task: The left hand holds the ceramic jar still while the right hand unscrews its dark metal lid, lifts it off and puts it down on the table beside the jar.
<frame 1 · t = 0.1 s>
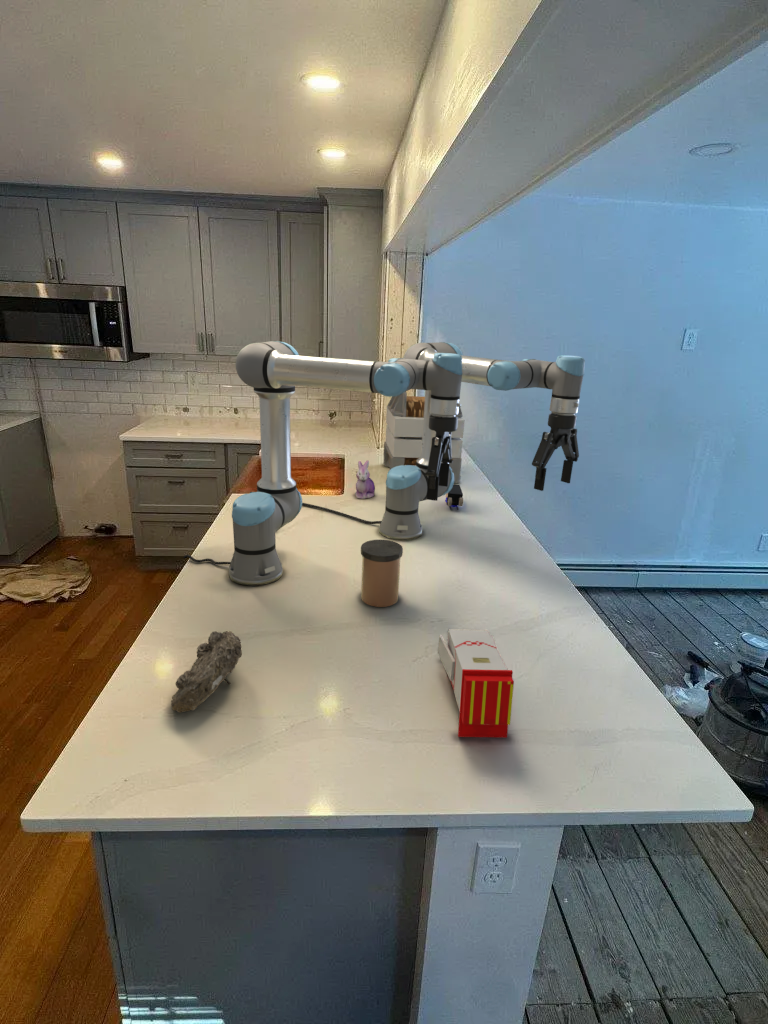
left hand: (437, 492, 155), 28 cm above the counter, tool pointing down, fingers open, 13 cm apart
right hand: (552, 485, 166), 28 cm above the counter, tool pointing down, fingers open, 13 cm apart
figurine: (364, 496, 238), on the counter
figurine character: (452, 506, 231), on the counter
lid: (381, 548, 150), point 15 cm above the counter, screwed on, not yet turned
fossil: (212, 683, 118), on the counter
jar: (379, 597, 155), on the counter
white crate: (419, 473, 275), on the counter
toy: (469, 691, 119), on the counter
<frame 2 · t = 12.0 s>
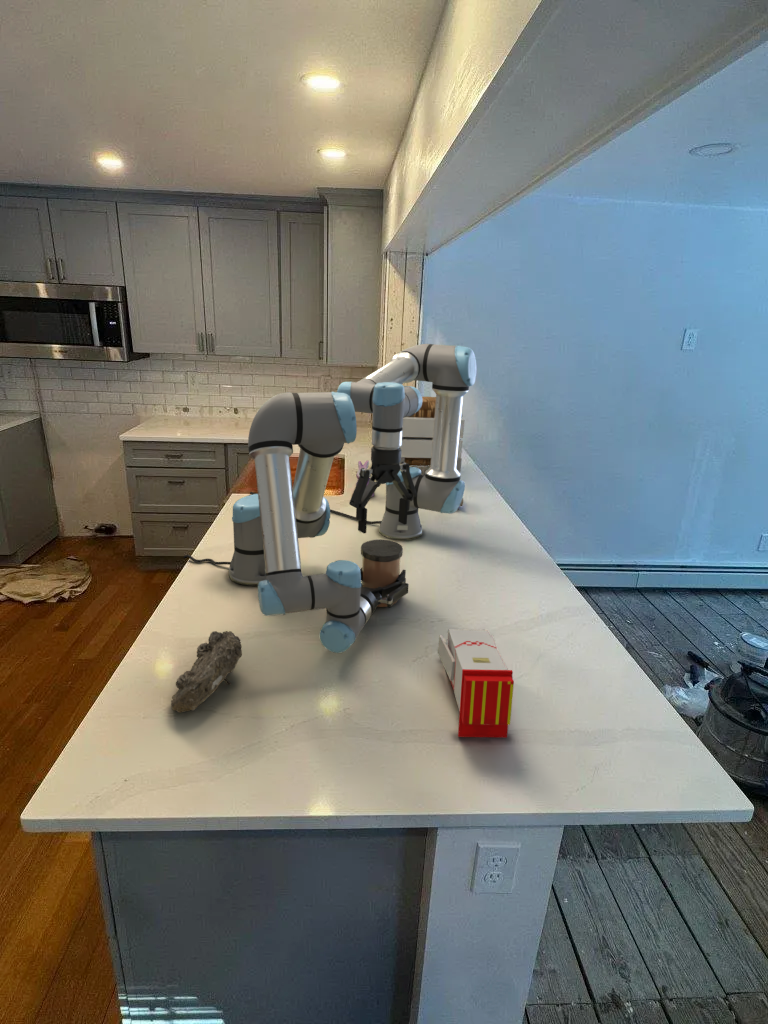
left hand: (385, 570, 157), 6 cm above the counter, tool horizontal, fingers closed on jar, 10 cm apart
right hand: (382, 527, 148), 21 cm above the counter, tool pointing down, fingers open, 12 cm apart
jar: (379, 597, 155), on the counter, touching left hand
everything else where it was.
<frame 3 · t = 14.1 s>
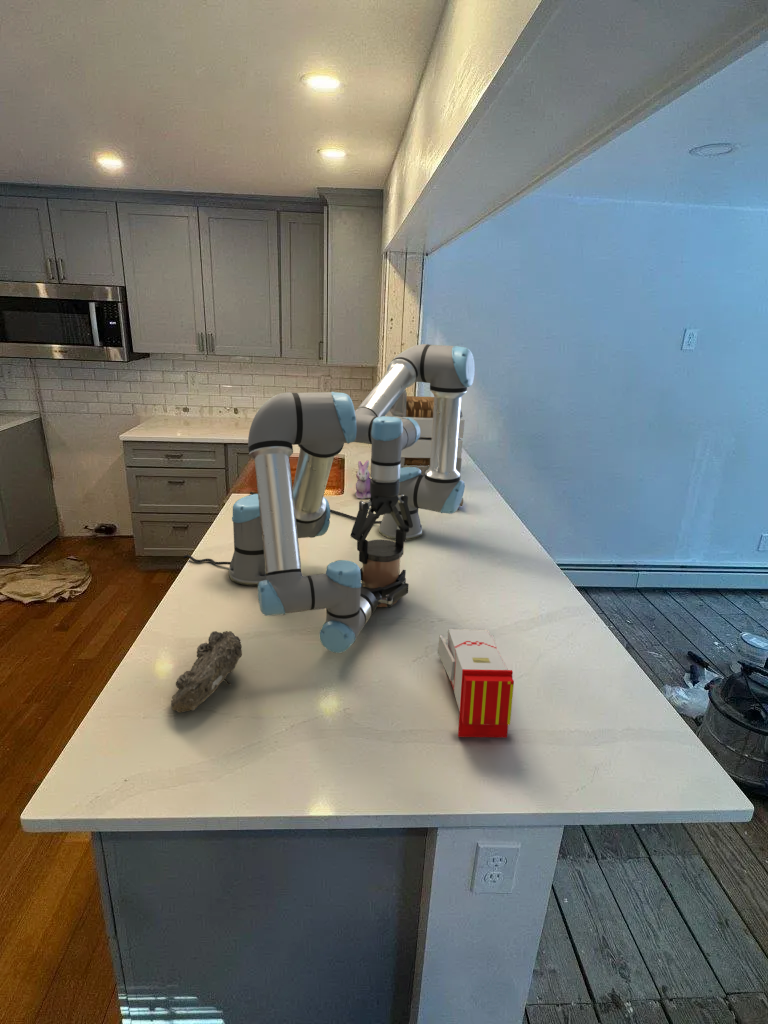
left hand: (385, 570, 157), 6 cm above the counter, tool horizontal, fingers closed on jar, 10 cm apart
right hand: (381, 557, 151), 12 cm above the counter, tool pointing down, fingers closed on lid, 11 cm apart
lid: (381, 548, 150), point 15 cm above the counter, screwed on, not yet turned, touching right hand
jar: (379, 597, 155), on the counter, touching left hand
everything else where it was.
when the right hand's fingers open (12 cm above the counter, at t = 15.8 s): lid stays where it is, point 15 cm above the counter.
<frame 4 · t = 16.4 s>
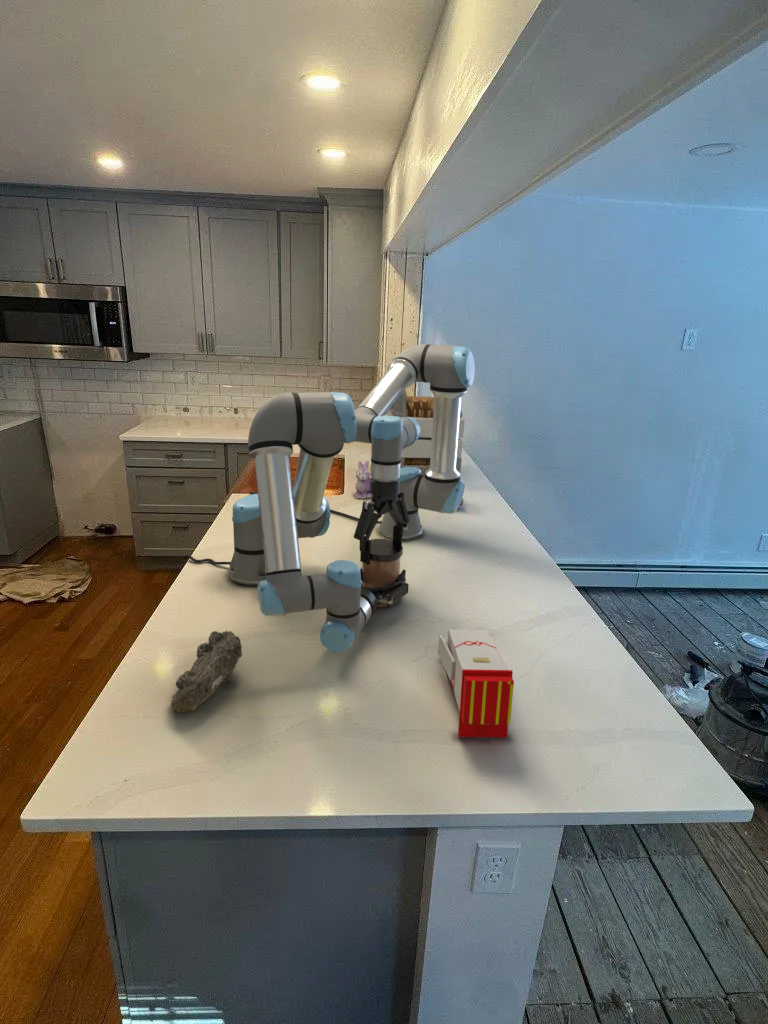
left hand: (385, 570, 157), 6 cm above the counter, tool horizontal, fingers closed on jar, 10 cm apart
right hand: (381, 555, 151), 13 cm above the counter, tool pointing down, fingers open, 12 cm apart
lid: (381, 547, 150), point 15 cm above the counter, turned 108° so far, risen 0.2 cm, still on its thread
jar: (379, 597, 155), on the counter, touching left hand
everything else where it was.
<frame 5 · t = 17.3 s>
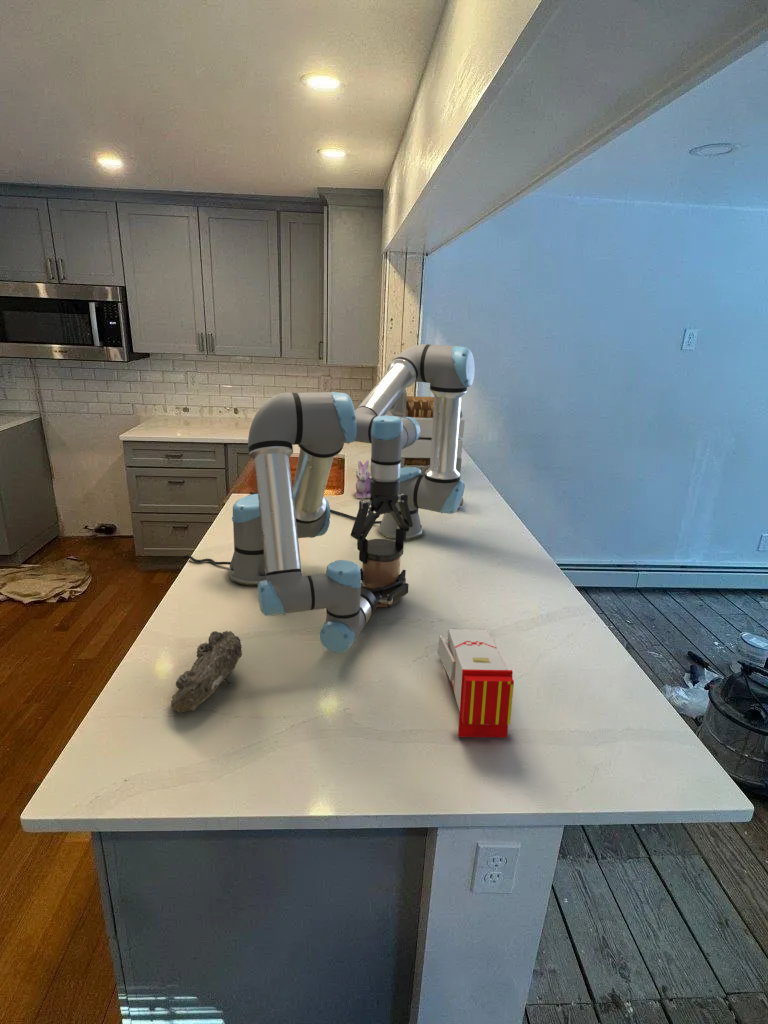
left hand: (385, 570, 157), 6 cm above the counter, tool horizontal, fingers closed on jar, 10 cm apart
right hand: (381, 557, 151), 12 cm above the counter, tool pointing down, fingers closed on lid, 11 cm apart
lid: (381, 547, 150), point 15 cm above the counter, turned 108° so far, risen 0.2 cm, still on its thread, touching right hand
jar: (379, 597, 155), on the counter, touching left hand
everything else where it was.
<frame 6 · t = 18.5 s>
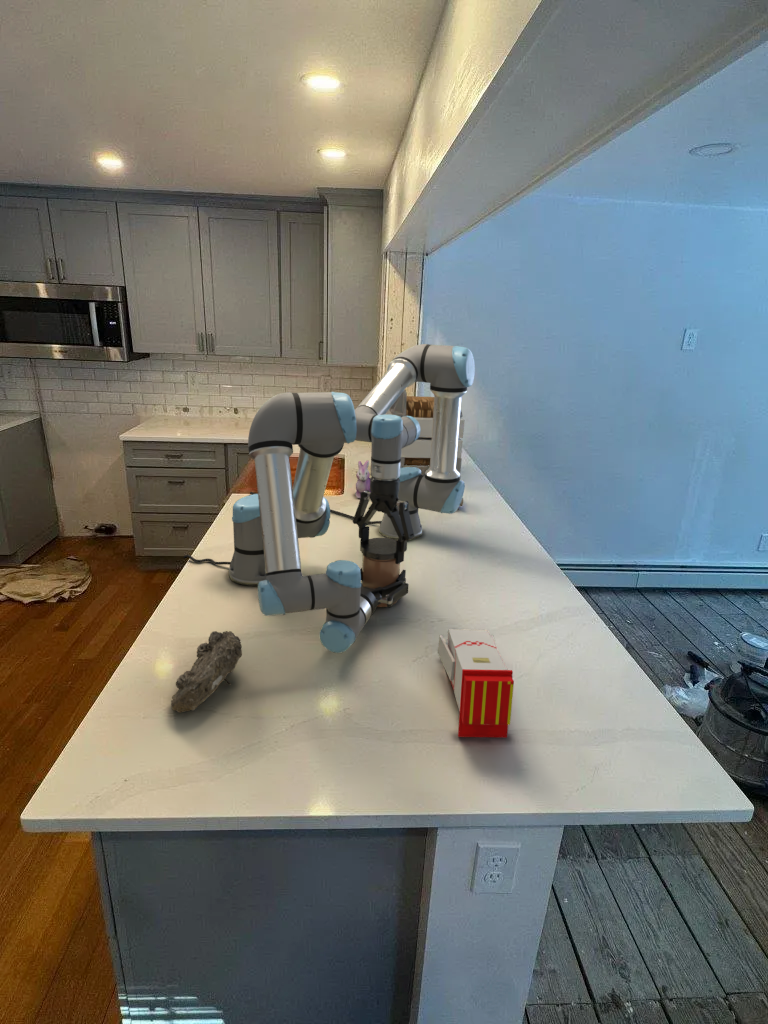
left hand: (385, 570, 157), 6 cm above the counter, tool horizontal, fingers closed on jar, 10 cm apart
right hand: (381, 556, 151), 13 cm above the counter, tool pointing down, fingers closed on lid, 11 cm apart
lid: (382, 546, 150), point 15 cm above the counter, off its thread, touching right hand
jar: (379, 597, 155), on the counter, touching left hand
everything else where it was.
when the right hand's fingers open (0 cm above the counter, at t = 23.5 s): lid drops 2 cm, point 1 cm above the counter.
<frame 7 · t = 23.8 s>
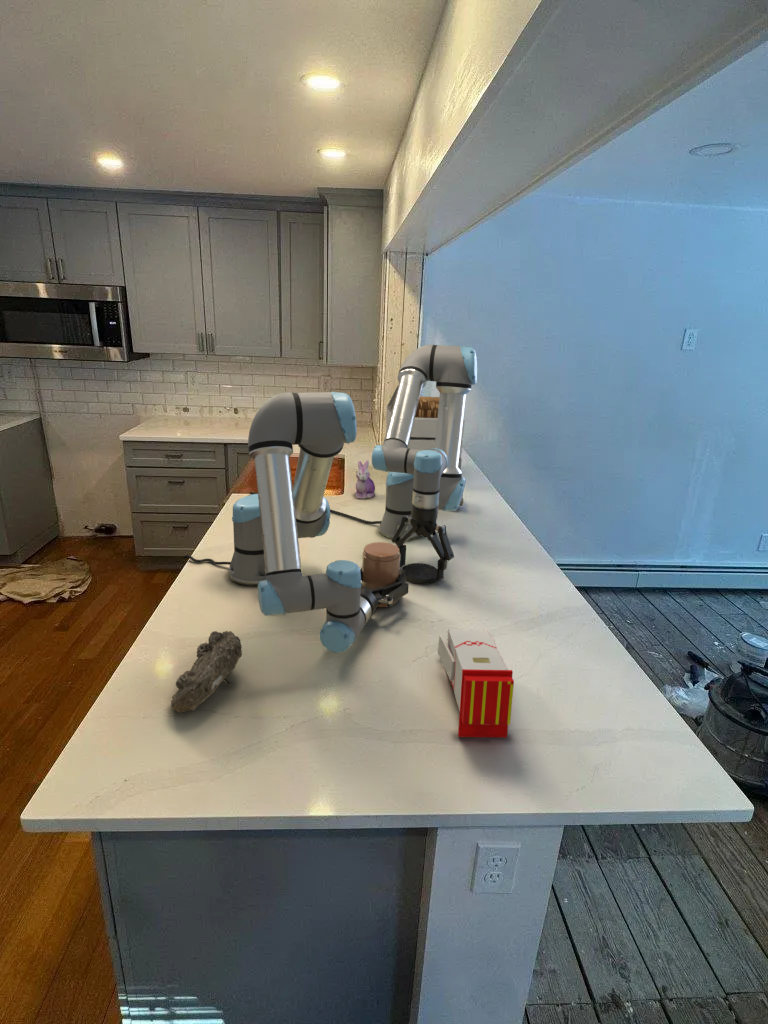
left hand: (385, 570, 157), 6 cm above the counter, tool horizontal, fingers closed on jar, 10 cm apart
right hand: (420, 572, 169), 1 cm above the counter, tool pointing down, fingers open, 13 cm apart
lid: (420, 571, 169), point 1 cm above the counter, off its thread
jar: (379, 597, 155), on the counter, touching left hand
everything else where it was.
when the left hand's fingers open (6 cm above the counter, at t = 24.6 s): jar stays where it is, on the counter.
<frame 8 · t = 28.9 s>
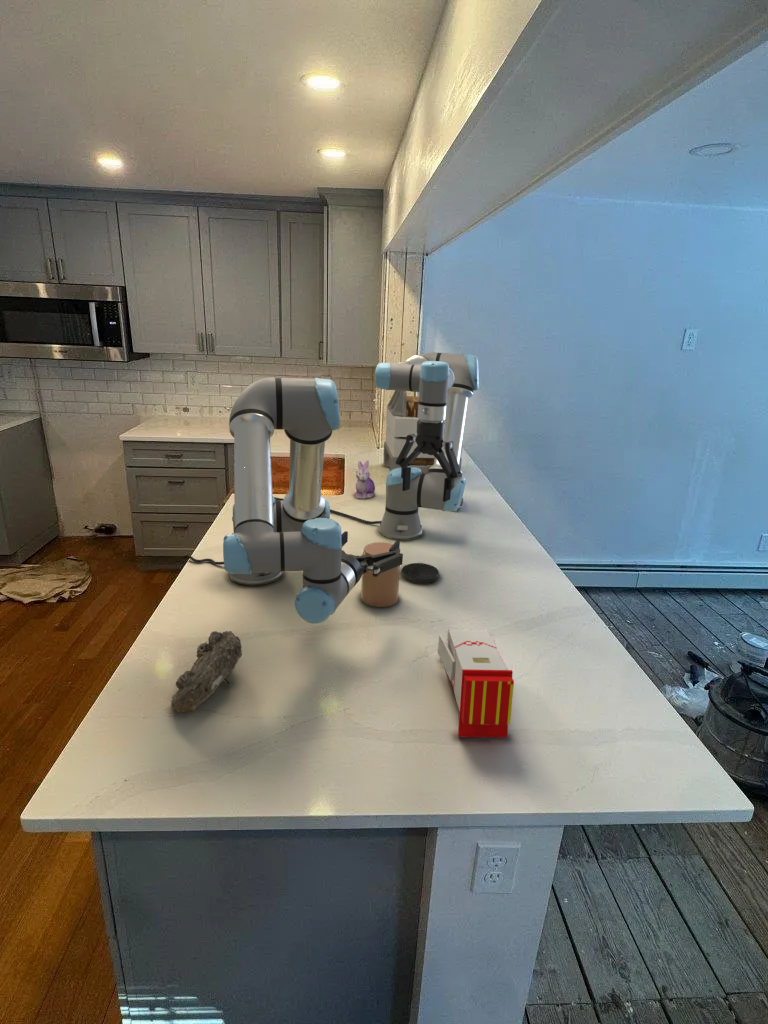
left hand: (372, 540, 141), 20 cm above the counter, tool horizontal, fingers open, 13 cm apart
right hand: (425, 495, 161), 25 cm above the counter, tool pointing down, fingers open, 13 cm apart
jar: (379, 597, 155), on the counter
everything else where it was.
at the end: lid came off its thread; lid point 1.3 cm above the counter; the left hand is holding nothing; the right hand is holding nothing; jar tilted 0°; jar moved 0.0 cm from its start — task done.
